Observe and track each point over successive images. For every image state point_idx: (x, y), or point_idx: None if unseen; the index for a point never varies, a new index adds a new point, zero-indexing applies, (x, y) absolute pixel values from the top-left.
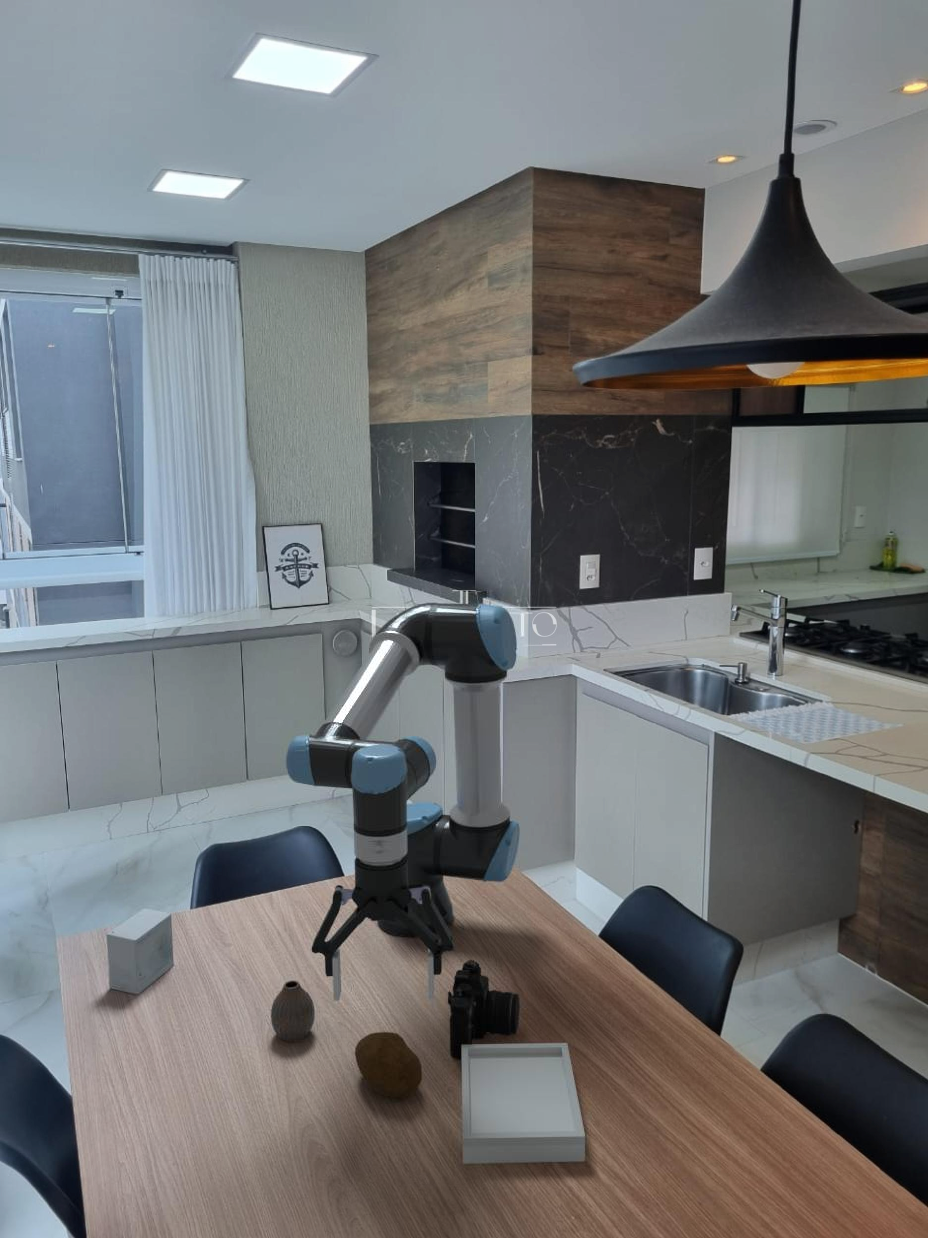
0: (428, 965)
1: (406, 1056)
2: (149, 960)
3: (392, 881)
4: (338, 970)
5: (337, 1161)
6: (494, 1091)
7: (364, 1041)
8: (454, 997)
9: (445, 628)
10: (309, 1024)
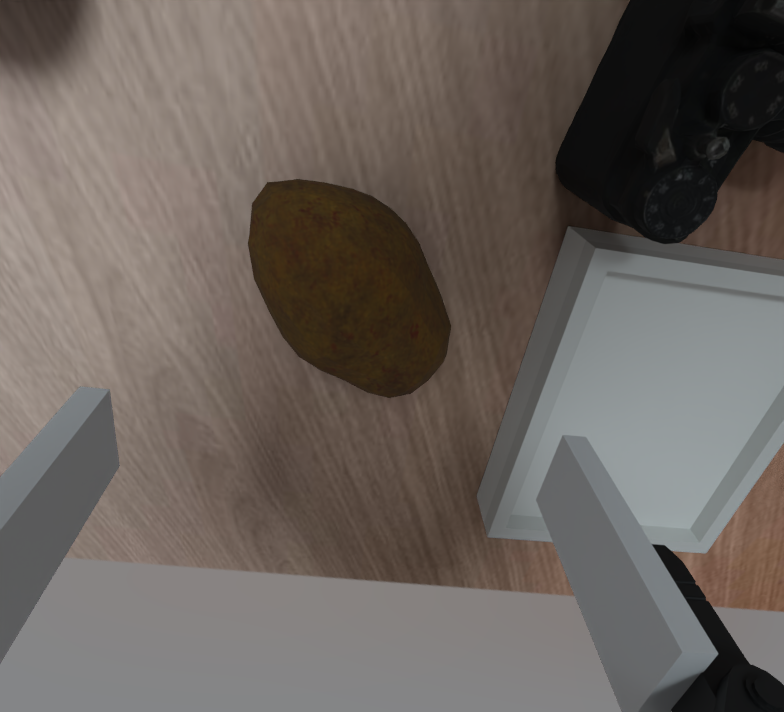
0: (605, 666)
1: (410, 376)
2: None
3: None
4: (32, 585)
5: (244, 465)
6: (604, 402)
7: (275, 287)
8: (678, 139)
9: None
10: None
